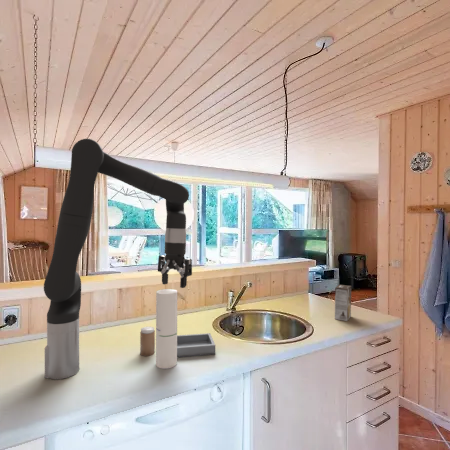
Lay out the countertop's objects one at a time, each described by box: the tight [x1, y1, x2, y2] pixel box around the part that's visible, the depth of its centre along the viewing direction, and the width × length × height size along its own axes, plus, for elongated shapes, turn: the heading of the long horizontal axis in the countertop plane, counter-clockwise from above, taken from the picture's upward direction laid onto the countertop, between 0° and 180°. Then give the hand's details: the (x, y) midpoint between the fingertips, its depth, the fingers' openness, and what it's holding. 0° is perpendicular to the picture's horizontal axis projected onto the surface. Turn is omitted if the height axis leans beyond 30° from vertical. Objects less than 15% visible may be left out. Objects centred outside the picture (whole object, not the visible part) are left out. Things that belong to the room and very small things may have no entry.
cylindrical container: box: [155, 288, 178, 369], centre depth 107 cm, size 7×7×25 cm
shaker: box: [139, 326, 156, 357], centre depth 116 cm, size 5×5×9 cm
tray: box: [177, 332, 216, 359], centre depth 119 cm, size 15×12×4 cm
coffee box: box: [334, 284, 352, 322], centre depth 159 cm, size 9×6×16 cm
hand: (173, 285), depth 112 cm, fingers open, 8 cm apart
